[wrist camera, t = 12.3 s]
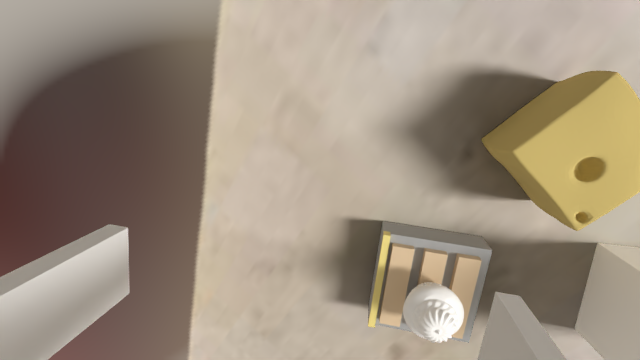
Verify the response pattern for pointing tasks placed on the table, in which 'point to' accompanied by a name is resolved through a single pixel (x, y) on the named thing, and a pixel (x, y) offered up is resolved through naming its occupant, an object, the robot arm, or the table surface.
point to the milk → (612, 303)
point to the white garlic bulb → (433, 312)
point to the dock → (426, 271)
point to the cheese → (574, 147)
